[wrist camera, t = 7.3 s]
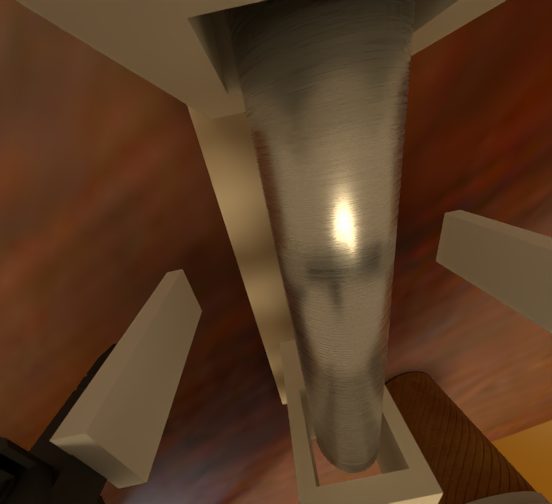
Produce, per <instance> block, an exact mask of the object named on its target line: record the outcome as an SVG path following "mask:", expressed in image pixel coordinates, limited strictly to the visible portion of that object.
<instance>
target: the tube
mask: <svg viewBox="0 0 552 504" xmlns="http://www.w3.org/2000/svg"><path fill="white" fill-rule="evenodd" d="M414 12H415V0H265V1H260V2H256V3H251V4H247V5H242V6H238V7H233V8H229V9H224V13H225V17H226V22H227V26H228V31H229V36H230V40H231V45H232V50H233V54H234V59H235V64H236V68H237V73H238V78H239V82H240V87H241V92H242V96H243V101H244V106H245V110H246V115H247V119H248V124H249V129H250V133H251V138H252V143H253V147H254V152H255V157H256V161H257V166H258V171H259V175H260V180H261V185H262V189H263V194H264V198H265V203H266V208H267V212H268V217H269V222H270V226H271V231H272V236H273V240H274V245H275V250H276V254H277V259H278V264H279V268H280V273H281V277H282V282H283V287H284V291H285V296H286V301H287V305H288V310H289V315H290V319H291V324H292V329H293V333H294V338H295V343H296V347H297V352H298V357H299V361H300V366H301V370H302V375H303V380H304V384H305V389H306V394H307V398H308V403H309V408H310V412H311V417H312V422H313V426H314V431H315V436H316V439H317V443H318V445H319V447H320V450H321V451H322V453H323V454H324V456H325V457H326V458H327V460H328V461H329V462H330V463H331V464H333V465H334V466H335V467H337V468H339V469H340V470H343V471H346V472H350V473H358V472H362V471H364V470H366V469H368V468H369V467H370V466H371V465H372V464H373V463H374V461H375V460H376V458H377V455H378V452H379V445H380V432H381V420H382V408H383V395H384V383H385V371H386V358H387V346H388V333H389V321H390V309H391V296H392V284H393V272H394V259H395V247H396V234H397V222H398V210H399V197H400V185H401V173H402V160H403V148H404V135H405V123H406V111H407V98H408V86H409V74H410V61H411V49H412V36H413V24H414Z"/></svg>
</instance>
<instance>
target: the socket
mask: <svg viewBox="0 0 552 504" xmlns="http://www.w3.org/2000/svg"><path fill="white" fill-rule="evenodd" d="M15 1H17V2H19V3H20V4H22V5H24V6H25V7H27V8H28V9H30V10H32V11H33V12H35V13H37V14H38V15H40V16H42V17H43V18H45V19H47V20H48V21H50V22H51V23H53V24H55V25H56V26H58V27H60V28H61V29H63V30H65V31H66V32H68V33H70V34H71V35H73V36H75V37H76V38H78V39H79V40H81V41H83V42H84V43H86V44H88V45H89V46H91V47H93V48H94V49H96V50H98V51H99V52H101V53H102V54H104V55H106V56H107V57H109V58H111V59H112V60H114V61H116V62H117V63H119V64H121V65H122V66H124V67H126V68H127V69H129V70H130V71H132V72H134V73H135V74H137V75H139V76H140V77H142V78H144V79H145V80H147V81H149V82H150V83H152V84H153V85H155V86H157V87H158V88H160V89H162V90H163V91H165V92H167V93H168V94H170V95H172V96H173V97H175V98H177V99H178V100H180V101H181V102H183V103H185V104H186V105H188V106H190V107H191V108H193V109H195V110H196V111H198V112H200V113H201V114H203V115H204V116H206V117H208V118H209V119H215V118H220V117H224V116H229V115H234V114H238V113H243V112H246V110H245V106H244V101H243V96H242V92H241V87H240V82H239V78H238V73H237V68H236V64H235V59H234V54H233V50H232V45H231V40H230V36H229V31H228V26H227V22H226V17H225V13H224V9H229V8H233V7H238V6H242V5H247V4H251V3H256V2H260V1H265V0H15ZM504 1H506V0H415V12H414V24H413V36H412V49H411V56H412V55H414V54H415V53H417V52H419V51H420V50H422V49H424V48H426V47H427V46H429V45H431V44H432V43H434V42H436V41H438V40H439V39H441V38H443V37H444V36H446V35H448V34H450V33H451V32H453V31H455V30H456V29H458V28H460V27H461V26H463V25H465V24H467V23H468V22H470V21H472V20H473V19H475V18H477V17H479V16H480V15H482V14H484V13H485V12H487V11H489V10H491V9H492V8H494V7H496V6H497V5H499V4H501V3H502V2H504Z"/></svg>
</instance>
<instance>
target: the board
mask: <svg viewBox="0 0 552 504" xmlns="http://www.w3.org/2000/svg"><path fill="white" fill-rule="evenodd" d="M187 107H188V110H189V113H190V116H191V119H192V122H193V125H194V129H195V132H196V135H197V138H198V141H199V144H200V147H201V150H202V154H203V157H204V160H205V163H206V166H207V169H208V172H209V175H210V179H211V182H212V185H213V188H214V191H215V194H216V197H217V201H218V204H219V207H220V210H221V213H222V216H223V219H224V222H225V226H226V229H227V232H228V235H229V238H230V241H231V244H232V247H233V251H234V254H235V257H236V260H237V263H238V266H239V269H240V272H241V276H242V279H243V282H244V285H245V288H246V291H247V294H248V297H249V301H250V304H251V307H252V310H253V313H254V316H255V319H256V323H257V326H258V329H259V332H260V335H261V338H262V341H263V344H264V348H265V351H266V354H267V357H268V360H269V363H270V366H271V369H272V373H273V376H274V379H275V382H276V385H277V388H278V391H279V394H280V398H281V401H282V404H287V397H286V389H285V381H284V373H283V365H282V356H281V348H280V343H282V342H287V341H291V340H295V338H294V333H293V329H292V324H291V319H290V315H289V310H288V305H287V301H286V296H285V291H284V287H283V282H282V277H281V273H280V268H279V264H278V259H277V254H276V250H275V245H274V240H273V236H272V231H271V226H270V222H269V217H268V212H267V208H266V203H265V198H264V194H263V189H262V185H261V180H260V175H259V171H258V166H257V161H256V157H255V152H254V147H253V143H252V138H251V133H250V129H249V124H248V119H247V115H246V112H243V113H238V114H234V115H229V116H224V117H220V118H215V119H209V118H208V117H206V116H204V115H203V114H201V113H200V112H198V111H196V110H195V109H193V108H191V107H190V106H188V105H187Z"/></svg>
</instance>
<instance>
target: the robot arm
mask: <svg viewBox="0 0 552 504" xmlns="http://www.w3.org/2000/svg"><path fill="white" fill-rule="evenodd" d="M436 262H438V263H440V264H441V265H443V266H444V267H446V268H448V269H449V270H451V271H452V272H454V273H456V274H457V275H459V276H460V277H462V278H463V279H465V280H467V281H468V282H470V283H471V284H473V285H475V286H476V287H478V288H479V289H481V290H483V291H484V292H486V293H487V294H489V295H491V296H492V297H494V298H495V299H497V300H499V301H500V302H502V303H503V304H505V305H507V306H508V307H510V308H511V309H513V310H515V311H516V312H518V313H519V314H521V315H523V316H524V317H526V318H527V319H529V320H531V321H532V322H534V323H535V324H537V325H538V326H540V327H542V328H543V329H545V330H546V331H548V332H550V333H551V334H552V238H551V237H548V236H545V235H542V234H538V233H535V232H532V231H528V230H525V229H522V228H518V227H515V226H512V225H509V224H505V223H502V222H499V221H495V220H492V219H489V218H485V217H482V216H479V215H476V214H472V213H469V212H466V211H462V210H457V211H453V212H448V213H445V215H444V221H443V226H442V231H441V237H440V242H439V248H438V253H437V258H436ZM201 312H202V310H201V308H200V306H199V303H198V301H197V299H196V297H195V295H194V293H193V291H192V288H191V286H190V284H189V282H188V280H187V278H186V276H185V273H184V271H183V269H181V270H176V271H171V272H167V273H166V275H165V276H164V278H163V279H162V281H161V282H160V283H159V285H158V286H157V288H156V289H155V291H154V292H153V293H152V295H151V296H150V298H149V299H148V301H147V302H146V303H145V305H144V306H143V308H142V309H141V311H140V312H139V313H138V315H137V316H136V318H135V319H134V321H133V322H132V323H131V325H130V326H129V328H128V329H127V331H126V332H125V333H124V335H123V336H122V338H121V339H120V341H119V342H118V343H117V344H113V345H112V346H111V347H110V348H109V349H108V350H107V351H106V352H105V353H104V354H102V355H101V356H100V357H99V358H98V359H97V361H96V362H95V363H94V365H93V366H92V367H91V369H90V370H89V372H88V373H87V376H86V377H84V378H83V380H82V381H81V382H80V384H79V385H78V386H77V390H76V391H74V392H73V393H72V394H71V396H70V397H69V398H68V400H67V401H66V403H65V404H64V405H63V407H62V408H61V409H60V411H59V412H58V413H57V415H56V416H55V417H54V419H53V420H52V421H51V423H50V424H49V425H48V427H47V428H46V430H45V431H44V432H43V434H42V435H41V436H40V438H39V439H38V440H37V442H36V443H35V444H34V446H33V447H32V448H31V450H30V451H29V452H28V451H26V450H25V449H23V448H21V447H20V446H18V445H16V444H15V443H13V442H11V441H10V440H8V439H6V438H2V437H0V504H105V502H104V500H103V498H102V496H100V494H101V492H102V490H103V487H104V485H105V483H106V481H109V482H110V483H112V484H113V485H115V486H116V487H117V488H123V487H128V486H133V485H138V484H142V483H147V480H148V477H149V474H150V471H151V468H152V465H153V461H154V458H155V455H156V452H157V449H158V446H159V443H160V440H161V437H162V434H163V430H164V427H165V424H166V421H167V418H168V415H169V412H170V409H171V406H172V402H173V399H174V396H175V393H176V390H177V387H178V384H179V381H180V378H181V375H182V371H183V368H184V365H185V362H186V359H187V356H188V353H189V350H190V347H191V343H192V340H193V337H194V334H195V331H196V328H197V325H198V322H199V319H200V316H201Z"/></svg>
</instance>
